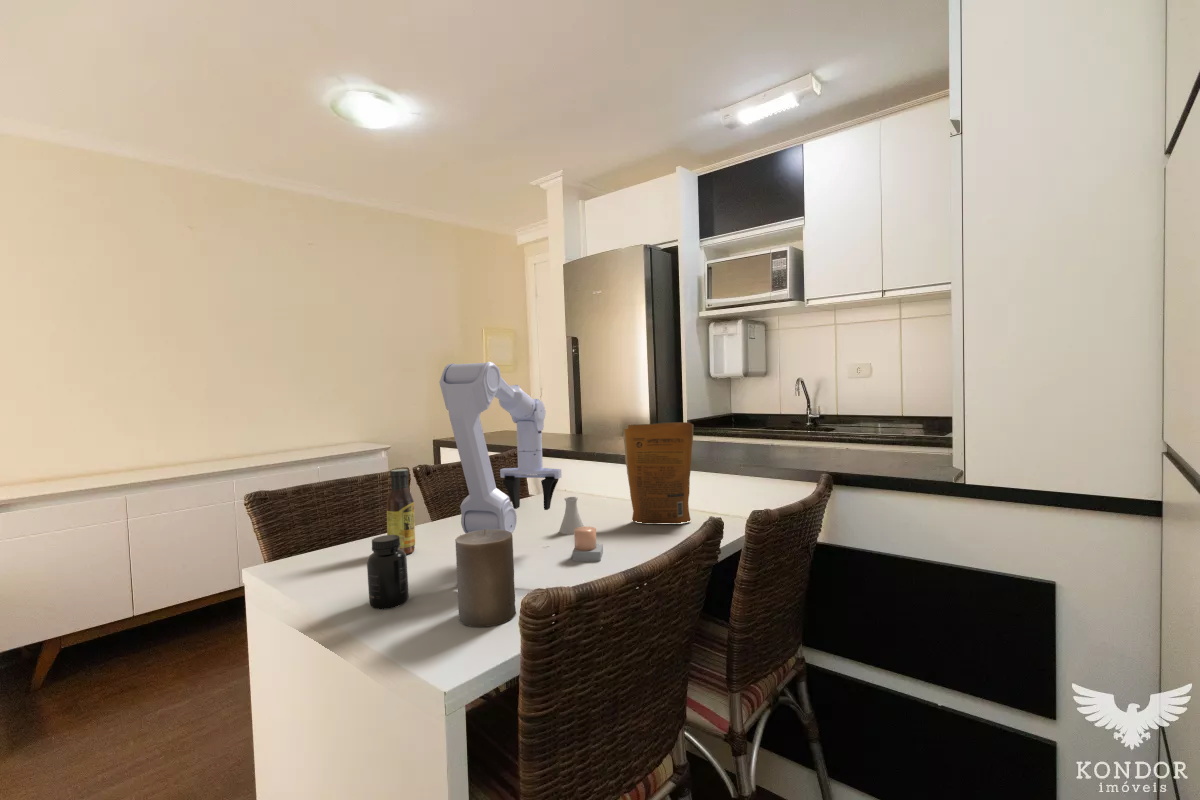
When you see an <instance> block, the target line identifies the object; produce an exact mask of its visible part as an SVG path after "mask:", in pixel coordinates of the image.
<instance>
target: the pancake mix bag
mask: <svg viewBox="0 0 1200 800" xmlns="http://www.w3.org/2000/svg"><path fill="white" fill-rule="evenodd" d="M622 433H623V436H622V437H623V445H624V458H625V459H624V460H625V465H626V474H627V478H628V480H627V481H628V486H629V493H630V496H629V497H630V501H631V507H632V511H633V512H632V518H631V521H632V520H633V521H637V522H642V523H681V522H687V521H690V520H691V521H692V519H691V515H690V510H689V509H690V507H689V499H690V498H689V497H690V478H691V470H692V463H693V462H692V461H693V444H694V424H693V423H690V422H688V421H687V422H686V421H685V422H684V421H683V422H681V421H680V422H679V421H678V422H659V423H656V422H655V423H648V424H647V423H645V424H644V423H642V424H639V423H638V424H636V423H635V424H627V428H623V432H622ZM633 521H632V522H633Z"/></svg>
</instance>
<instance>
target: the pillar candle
mask: <svg viewBox="0 0 1200 800" xmlns="http://www.w3.org/2000/svg"><path fill="white" fill-rule="evenodd" d="M513 540H514V539H513V533H511V532H509V531H506V530H498V529H492V530H485V529H484V530H480V531H474V532H469V533H464V534H460V535H459V536H457V537H456V539H455V557H456V558H455V559H456V581H457V583H456V584H457V585H456V586H457V603H458V604H457V606H458V609H457V610H458V620H459V622H460V623H461V624H463V625H464V626H468V627H475V628H476V627H477V628H481V627H482V628H483V627H491V626H498V625H501V624H504V623H506V622H508V621H510V620H512V619H513V618H514V616H516V615H517V611H516V590H515V587H516V586H515V567H514V566H515V565H514V564H515V563H514V543H513Z"/></svg>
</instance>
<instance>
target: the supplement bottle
mask: <svg viewBox="0 0 1200 800" xmlns="http://www.w3.org/2000/svg"><path fill="white" fill-rule="evenodd" d="M399 547H400V537H399V536H397V535H387V534H385V535H380V536H376V537H373V538H372V539H371V551H372V553H371V554H370V555H369V556H368V557H367V560H366V569H367V572H366V573H367V587H368V601H369V605H370V607H371V608H372V609H375V610H389V609H395V608H397V607H400V606H402V605H404V604H405V603H406V602H408V600H409V598H410V597H409V595H410V594H409V575H408V574H409V573H408V559H407V554H406V553H405V552H404V551H403V550H401V549H399Z"/></svg>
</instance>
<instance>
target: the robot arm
mask: <svg viewBox="0 0 1200 800" xmlns="http://www.w3.org/2000/svg"><path fill="white" fill-rule="evenodd" d="M439 386H440V390H441V394H442V398H443V401H444V402H443V403H444V406H445V409H446V410H447V411H448V416H449V421H450V425H451V429H452V432H453V435H454V441H455V443H456V444H455V445H456V448H457V451H458V452H457V453H458V455H459V460H460V463H461V467H462V471H463V475H464V479H465V481H466V482H465V483H466V487H467V490H468V495H467V496H466V497H465V498H464V499H463V500H462V502H461V504H460V505H459V509H460V513H461V514H460V515H461V516H460V524H461V525H460V526H461V528H462V530H463V532H464V534H466V533H469V532H474V531H480V530H484V529H485V530H492V529H498V530H506V531H509V532H511V533H512V534H513V533H514V531H515V529H516V526H517V523H518V522H517V520H518V519H517V512H516V510H517V509H519V508H521V507H520V506H521V498H520V496H521V495H520V490H521V489H520V488H521V479H522V478H529V479H530V478H531V479H532V478H534V479H535V478H536V479H538V478H539V479H542V480H540V481H541V487H542V493H543V509H544V511H548V510H549V509H551V503H552V499H553V496H554V495H553V494H554V492H555V488H556V487H557V485H558V482H559V479H560V478H562V468H551V467H549V468H548V467H544V463H543V440H542V439H543V437H542V436H543V433H542V432H543V431H544V428H545V423H544V422H545V418H546V407H545V404H544V402H543V401H542V400H540V399H539V398H532V396H530V395H529V394H528V393H526V391H524V390H523V389H522V388H521V386H520V385H519V384H512V385H509V384H508V383H507V382H506V380H505V379H503V377H502V374H501V369H500V367H499V366H497V365H496V364H495V363H494V362H492V361H487V362H473V363H447V364H446V366H445V367H444V369H443V371H442V374H441V375H440V379H439ZM494 398H496V399H497V400H498V404H499V406H500V407H501V408H502V409H503V410H505V411H506V412H508V414H509V415H510V416H511V419H512V422H513V424H516V443H517V444H516V450H517V467H509V468H508V467H506V468H505V467H503V468H501V469H500V470H499V471H500V472H499V474H500V475H499V476H500V478H502V479H503V478H504V479H503V480H502V484H503V486H504V487H505V489H506V491H507V492H508V494H506V493H504V492H503V491H501V490H500V489H499V488H497V486H496V481H495V476H494V472H493V468H492V464H491V459H490V454H489V451H488V447H487V443H486V438H485V434H484V430H483V426H482V422H481V417H480V416H481V414H482V413H483V412H485V411H487V410H488V409H489V408H490V406H491V405H492V404H491V403H492V402H493V401H494Z"/></svg>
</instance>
